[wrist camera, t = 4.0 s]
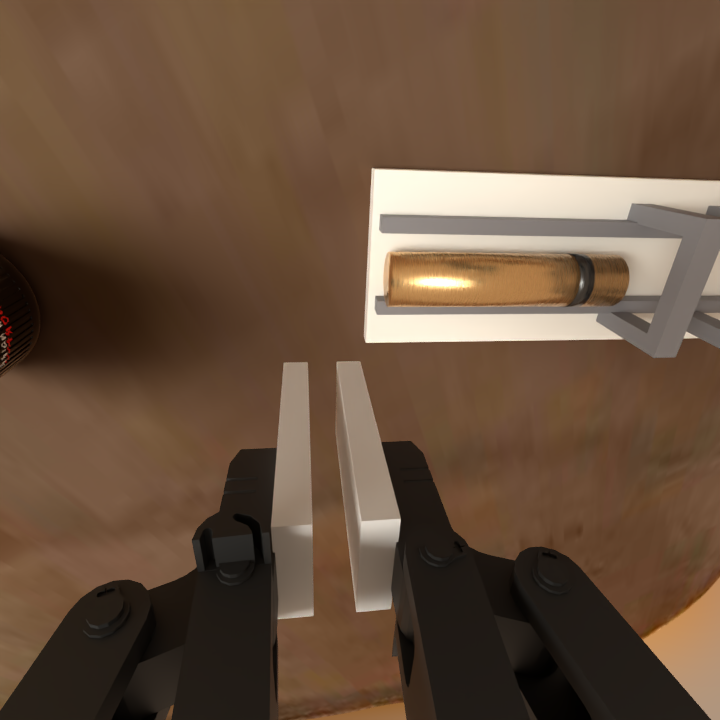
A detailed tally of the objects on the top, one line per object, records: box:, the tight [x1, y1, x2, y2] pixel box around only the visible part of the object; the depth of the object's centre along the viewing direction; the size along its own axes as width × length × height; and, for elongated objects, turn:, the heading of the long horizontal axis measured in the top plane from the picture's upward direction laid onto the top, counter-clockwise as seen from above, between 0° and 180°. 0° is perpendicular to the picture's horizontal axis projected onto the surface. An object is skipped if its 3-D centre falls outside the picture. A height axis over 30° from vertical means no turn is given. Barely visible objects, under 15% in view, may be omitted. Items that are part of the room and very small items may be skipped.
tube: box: [383, 252, 630, 307], centre depth 30 cm, size 16×4×4 cm, turn 88°
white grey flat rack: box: [364, 168, 720, 358], centre depth 30 cm, size 30×12×8 cm, turn 88°
